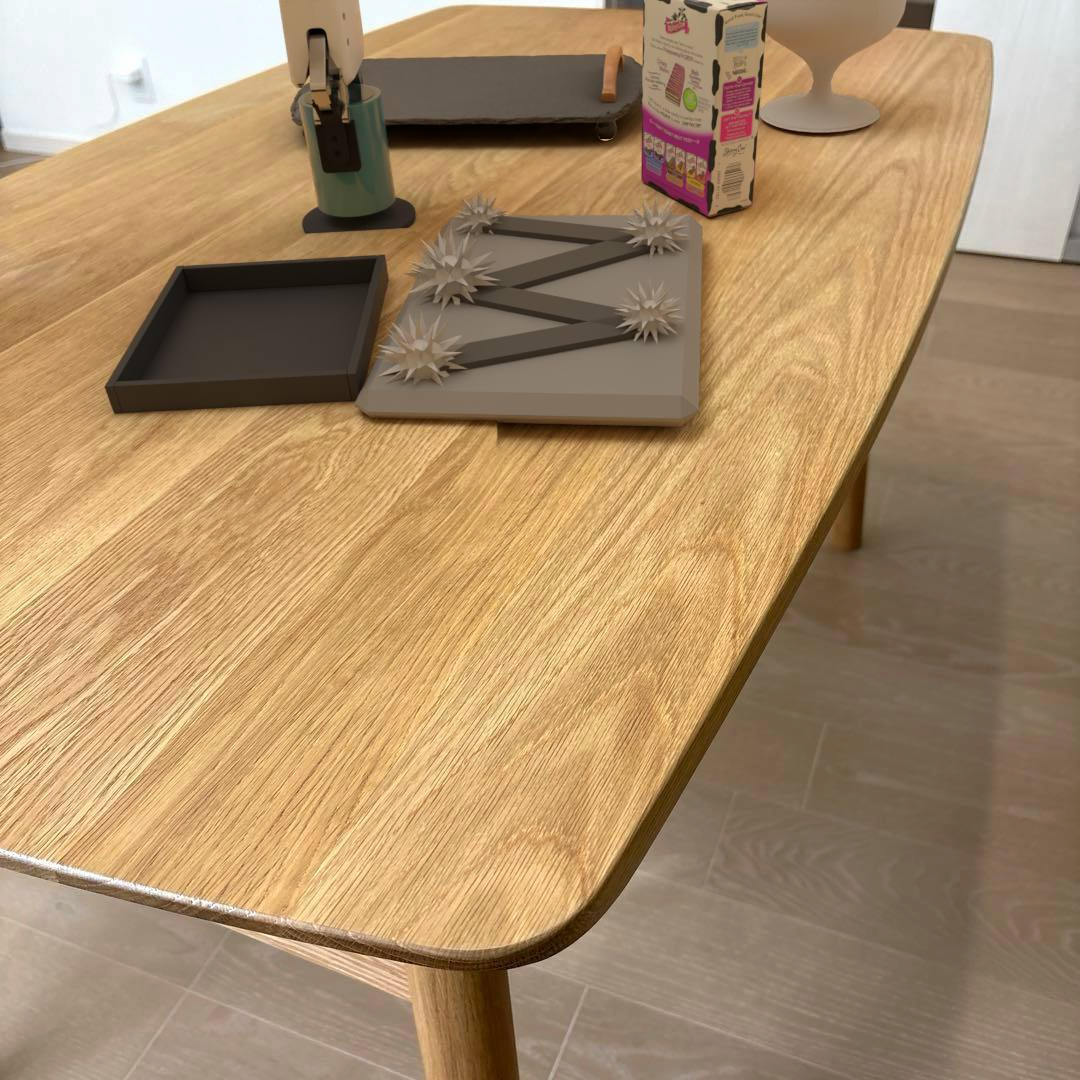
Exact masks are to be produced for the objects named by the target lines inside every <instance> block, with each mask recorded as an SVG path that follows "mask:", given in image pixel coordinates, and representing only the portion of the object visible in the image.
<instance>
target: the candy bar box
mask: <svg viewBox="0 0 1080 1080" xmlns="http://www.w3.org/2000/svg"><path fill="white" fill-rule="evenodd" d="M642 3H643V4H642V5H643V6H642V8H643V10H642V11H643V14H642V16H643V17H642V18H643V19H642V66H643V70H642V102H641V160H640V161H641V166H640V167H641V173H640V174H641V175H640V180H641V182H642V183H644V184H646V185H648V186H649V185H650V187H651V186H652V187H651V188H653V187H654V188H653V189H655V190H657V191H659V192H661V193H662V192H663V193H662V194H664V193H665V195H666V196H668V195H669V196H668V197H670V198H671V199H673V200H675V201H677V200H678V201H677V202H679V201H680V202H679V203H681V202H682V204H683V203H684V204H683V205H685V206H687V207H688V208H691V209H693V210H694V211H697V212H699V213H700V214H702V215H704V216H706V217H708V218H711V217H712V218H713V217H716V216H720V215H724V214H729V213H733V212H736V211H740V209H741V210H743V208H744V209H747V208H750V207H752V206H753V204H754V203H753V200H754V189H755V188H754V187H755V175H756V174H755V173H756V162H757V150H758V149H757V148H758V134H759V133H758V132H759V125H760V124H759V123H760V116H759V110H760V109H761V108H760V107H761V106H760V105H761V97H762V85H763V73H764V58H765V48H766V35H767V33H766V22H767V8H768V1H764V0H643V1H642ZM732 211H733V212H732Z"/></svg>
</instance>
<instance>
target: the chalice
mask: <svg viewBox="0 0 1080 1080" xmlns="http://www.w3.org/2000/svg"><path fill="white" fill-rule="evenodd" d="M764 1H768V8H767V22H766V35H767V36H768V37H769V38H770V39H772V41H774V42H776V43H778V44H779V45H781V46H783V47H784V48H786V49H787V50H788V51H790V52H792V53H794V54H795V55H796V56H798V57H799V58H800V59H802V60H803V61H804V62H805V63H806V65H808V67H809V70H810V72H811V75H812V85H811V89H810V90H809V91H808V92H807V93H795V94H790V95H785V96H780V97H776V98H774V99H772V100H769V101H768V102H766V103H765V104H763V106H760V107H761V108H759V118H760V119H761V120H762V121H764V123H765V122H766V123H767V124H769V125H771V126H774V127H777V128H780V129H784V130H789V131H795V132H804V133H836V132H837V133H839V132H847V131H852V130H857V129H861V128H864V127H867V126H870V125H872V124H874V123H875V122H877V121H878V120H879V118H880V116H881V112H880V110H879V109H878V108H877V106H875V105H874V104H873V103H872V102H870V101H869V100H865V99H863V98H860V97H856V96H852V95H847V94H839V93H834V91H833V90H832V80H833V77H834V74H835V73H836V72H837V70H838V68H840V66H841V65H842V64H843V63H844V62H845V61H846V60H848V59H849V58H851V57H853V56H854V55H856V54H858V53H860V52H862V51H864V50H865V49H868V48H869V47H871V46H873V45H875V44H877V43H879V42H881V41H882V40H884V39H885V38H886V37H888V36H889V35H890V34H892V32H893V31H894V30H895V29H896V28H897V26H898V25H899V23H900V21H901V19H902V18H903V16H904V13H905V12H906V11H905V10H906V5H907V0H764Z"/></svg>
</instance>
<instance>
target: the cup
mask: <svg viewBox="0 0 1080 1080" xmlns="http://www.w3.org/2000/svg"><path fill="white" fill-rule="evenodd" d="M331 94H336V96H337V98H339V104H340V96H339V91H331ZM348 96H349V108H350V120H355V125H356V132H357V138H358V144H359V150H360V157H361V163H362V167H361V169H360V171H358V172H342V173H325V172H324V171H323V169H322V165H321V159H320V154H319V148H318V143H317V137H316V132H315V126H314V117H313V107H312V96H311V91H309V92H307V93H305V94H303V95H302V96H301V97H300V98H299V100H298V102H299V107H300V113H301V118H302V123H303V126H302V129H304V134H305V138H304V139H305V144H306V150H307V154H308V155H307V156H308V160H309V165H310V171H311V177H312V182H313V187H314V192H315V197H316V198H315V199H316V203H317V207H318V208H319V210H320V211H321V212H323V213H325V214H327V215H331V216H336V217H358V216H365V215H370V214H374V213H377V212H380V211H382V210H385V209H387V208H388V207H390V206H391V205H392V204H393V203H394V202H395V199H396V197H397V196H396V190H395V189H396V188H395V183H394V175H393V168H392V162H391V154H390V147H389V140H388V132H387V125H385V118H384V110H383V103H382V96H381V91H380V90H379V89H378V88H376V87H374V86H370V85H365V84H348Z"/></svg>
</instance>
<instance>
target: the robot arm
mask: <svg viewBox="0 0 1080 1080" xmlns="http://www.w3.org/2000/svg"><path fill="white" fill-rule="evenodd" d="M278 4H279V13H280V18H281V25H282V32H283V38H284V45H285V46H284V47H285V51H286V58H287V64H288V65H287V66H288V72H289V78H290V82H291V84H292V85H293V86H294V87H295V88H297V89H301V88H302V87H303V86H304V85H305V84H306V82H307V80H308V79H309V82H310V91H311V96H312V107H313V117H314V126H315V132H316V137H317V143H318V148H319V154H320V159H321V165H322V169H323V171H324V172H325V173H342V172H358V171H360V169H361V167H362V163H361V157H360V150H359V144H358V138H357V132H356V125H355V120H350V108H349V96H348V84H363V78H362V74H361V70H360V65H361V63H362V60H363V59H364V56H365V40H364V30H363V22H362V21H363V19H362V14H361V7H360V6H361V5H360V0H278ZM331 91H339V96H340V104H339V98H337V96H336V94H331Z"/></svg>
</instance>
